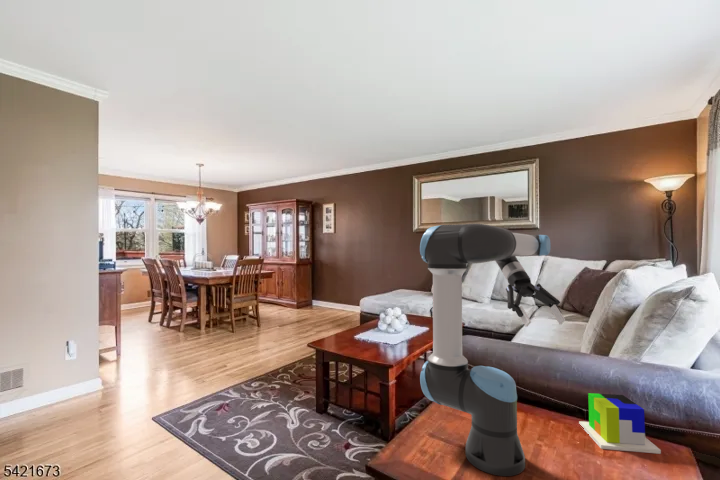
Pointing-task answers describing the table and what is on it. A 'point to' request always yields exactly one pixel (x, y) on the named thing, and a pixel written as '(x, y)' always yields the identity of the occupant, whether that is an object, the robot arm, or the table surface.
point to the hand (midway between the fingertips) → (545, 323)
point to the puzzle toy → (616, 418)
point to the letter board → (646, 448)
